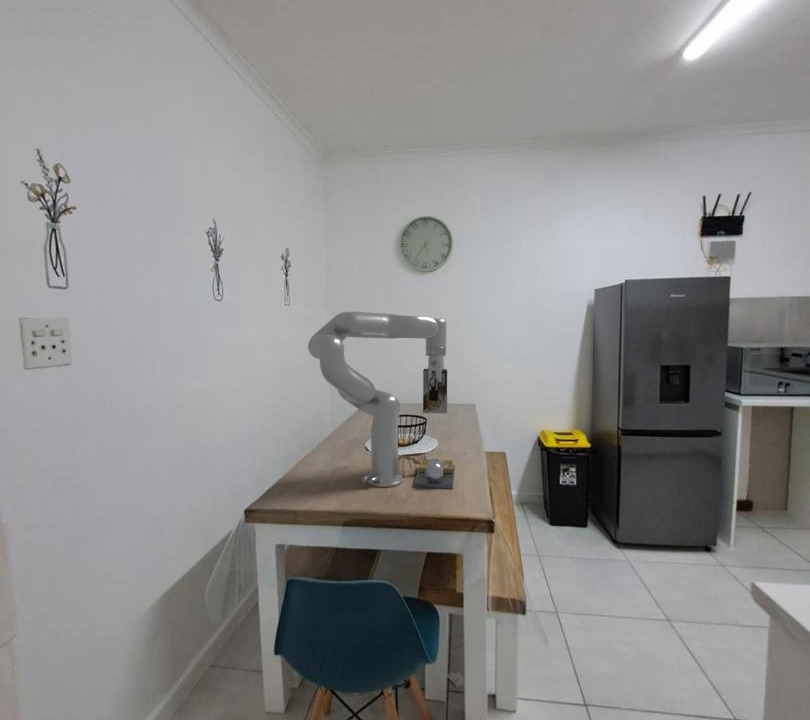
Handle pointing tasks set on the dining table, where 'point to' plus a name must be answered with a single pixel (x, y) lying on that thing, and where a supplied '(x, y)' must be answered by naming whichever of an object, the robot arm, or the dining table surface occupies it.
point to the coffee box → (441, 404)
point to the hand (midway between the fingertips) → (434, 398)
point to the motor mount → (435, 474)
